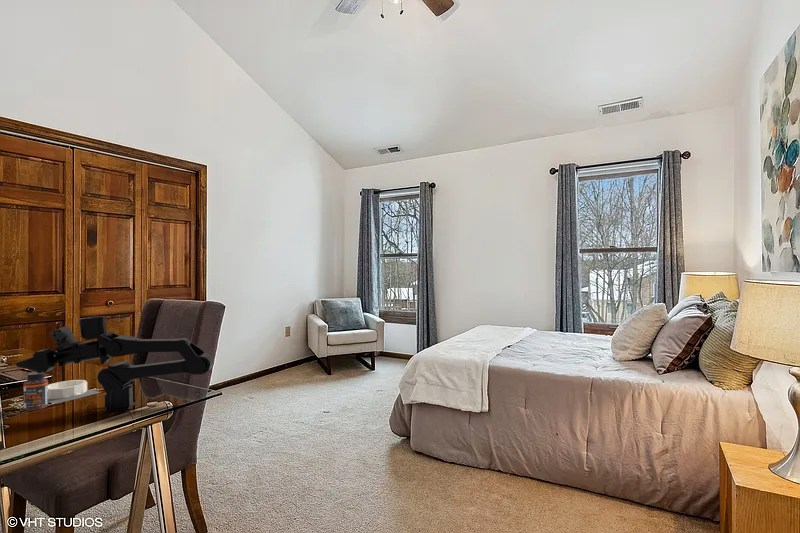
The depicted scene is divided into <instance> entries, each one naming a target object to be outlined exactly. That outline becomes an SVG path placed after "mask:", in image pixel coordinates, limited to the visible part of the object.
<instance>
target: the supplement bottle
mask: <svg viewBox="0 0 800 533" xmlns="http://www.w3.org/2000/svg"><path fill="white" fill-rule="evenodd" d="M48 385H49V381H48V378H46V377H45V372H44V373H37V372H36V371H33V372H29V373H27V380H25V381H24V382H23V410H24V411H27V412H30V411H31V412H33V411H39V410H42V409H44V408H48V407H49V402H48Z"/></svg>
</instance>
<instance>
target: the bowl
mask: <svg viewBox="0 0 800 533" xmlns="http://www.w3.org/2000/svg"><path fill="white" fill-rule="evenodd" d="M87 389H88V381H87V380H85V379H72V380H64V381H57V382H55V383H54V382H53V383H48V400H58V399H66V398H71V397H76V396H79V395H82V394H84V393H86V392H87Z"/></svg>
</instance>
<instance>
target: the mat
mask: <svg viewBox="0 0 800 533" xmlns="http://www.w3.org/2000/svg"><path fill="white" fill-rule="evenodd" d="M101 393H102V392H101V391H98V390H94V389H93V390H92V389H88V388H87V392H86V393H84V394H82V395H79V396H76V397H71V398H66V399H58V400H48V403H51V404H55V405H57V404H60V403H65V402H68V401H72V400H76V399H81V398H85V397H88V396H93V395H97V394H101Z"/></svg>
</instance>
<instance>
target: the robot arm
mask: <svg viewBox="0 0 800 533" xmlns="http://www.w3.org/2000/svg"><path fill="white" fill-rule="evenodd" d="M106 321H107V319H106V316H105V315H101V316H99V315H98V316H88V317H83V318H79V319H78V325H79V326H78V327H79V333H80V337H81V338H82V340H84V339H85V341H77V339H76V336H75V335H74V333H73V330H71V328H70V327H69V326H67V325H66V326H63V327H59V328H57V329H54V330H53V331H51V332H50V337H51V338H52V340H53V342H54V343H55V344H56V346H55V350H51V349H50V348H46V349H45V348H44V349H41V350H37V351H34V353H33V356H32V357H29V358H27V359H24V360H21V361H17V362H16V363H15V365H16V366H15V367H17V368H22V369H26V370H31V371H33V372H37V373H44V374H45V373H49V372H50V371H52V370H54V368H55V367H56V364H58V367H63V366H66V365H69V364H74V365H75V364H79V363H82V362H88V361H94V360H99V359H100V364H101V365H102V366H103V365H105V364H108V363H109V361H110V359H112V358H117V357H124V356H127V355H128V356H129V355H133V354H138V353H172V352H175V353H176V352H177V353H179V354H180V355H181V357H182V358H183V359H177V360H175V359H174V360H169V361H160V362H154V363H146V364H145V363H143V364H136V365H135V364H131V362H130V361H131V360H130V359H127V360H124V361H117V360H116V361H114V362H113V363H111V364H109V365H107V366H106V367H104V368H102V369H101V370H100V371H98V373H97V378H96V379H97V381H98V383H99V385H101V386H102V388H103V390H104V392H105V393H106V394H105V395H104V412H105V413H107V412H119V411H128V410H129V409H131V408H132V407H133V406H135V405H136V403H135V402H134V401H133V398H134V397H133V395H134V394H133V392H134V391H133V385H134V382H135V381H136V379H142V378H143V379H144V378H152V377H159V376H166V375H175V374H187V375H195V376H197V375H200V376H201V375H202V376H203V375H204V374H206V373H208V371H209V370H211V369H212V367H213V366H214V364H215V359H214V357H213V355H211V353H208V352H206V351H205V350H203V349H202V348H201V347H200V346H198V345H196V344H194V343H193V341H192V340H190V339H189V338H187V337H183V338H145V339H144V338H139V337H136V336H132V335H131V336H129V335H125V334H123V335H120V334H117V333H115V332H113V331H108V329H107V324H106ZM95 339H96V340H95ZM90 340H91V341H90Z"/></svg>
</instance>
